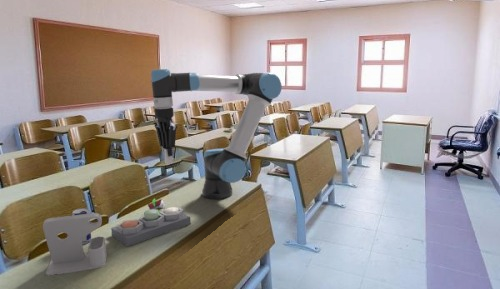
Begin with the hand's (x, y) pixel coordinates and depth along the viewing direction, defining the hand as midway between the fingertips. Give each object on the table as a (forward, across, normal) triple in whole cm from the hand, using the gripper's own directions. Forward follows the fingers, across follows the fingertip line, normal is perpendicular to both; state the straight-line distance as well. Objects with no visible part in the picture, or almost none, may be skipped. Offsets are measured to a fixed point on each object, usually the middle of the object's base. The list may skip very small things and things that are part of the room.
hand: (169, 163), depth 152 cm
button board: (+22, +7, -15) cm, 28 cm away
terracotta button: (+19, +6, -24) cm, 31 cm away
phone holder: (+22, +11, -45) cm, 52 cm away
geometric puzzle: (+23, -7, -4) cm, 24 cm away
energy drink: (+22, -4, -37) cm, 43 cm away
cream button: (+20, +7, -6) cm, 22 cm away
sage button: (+18, +7, -15) cm, 24 cm away
